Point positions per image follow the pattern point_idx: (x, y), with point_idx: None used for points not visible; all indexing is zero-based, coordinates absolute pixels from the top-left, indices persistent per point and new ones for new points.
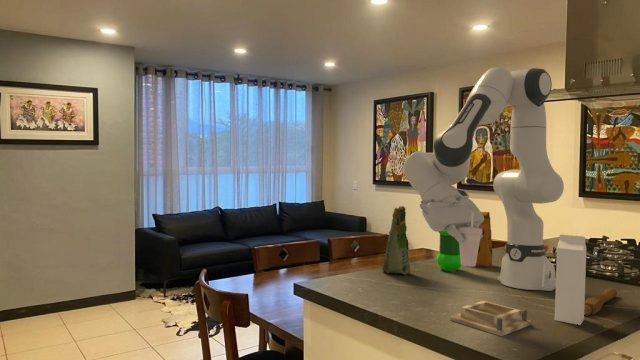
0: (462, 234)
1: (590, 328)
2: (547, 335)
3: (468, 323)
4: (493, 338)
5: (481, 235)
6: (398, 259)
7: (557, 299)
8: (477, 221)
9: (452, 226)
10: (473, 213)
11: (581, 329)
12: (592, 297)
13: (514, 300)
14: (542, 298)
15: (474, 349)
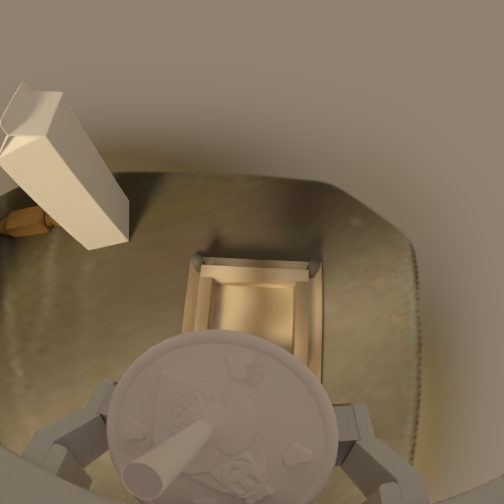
0: (341, 430)
1: (136, 185)
2: (236, 213)
3: (321, 344)
4: (342, 270)
5: (112, 383)
6: None
7: (111, 215)
8: (2, 446)
9: (417, 491)
10: (147, 456)
11: (152, 191)
12: (7, 225)
13: (48, 358)
14: (8, 316)
15: (414, 263)
